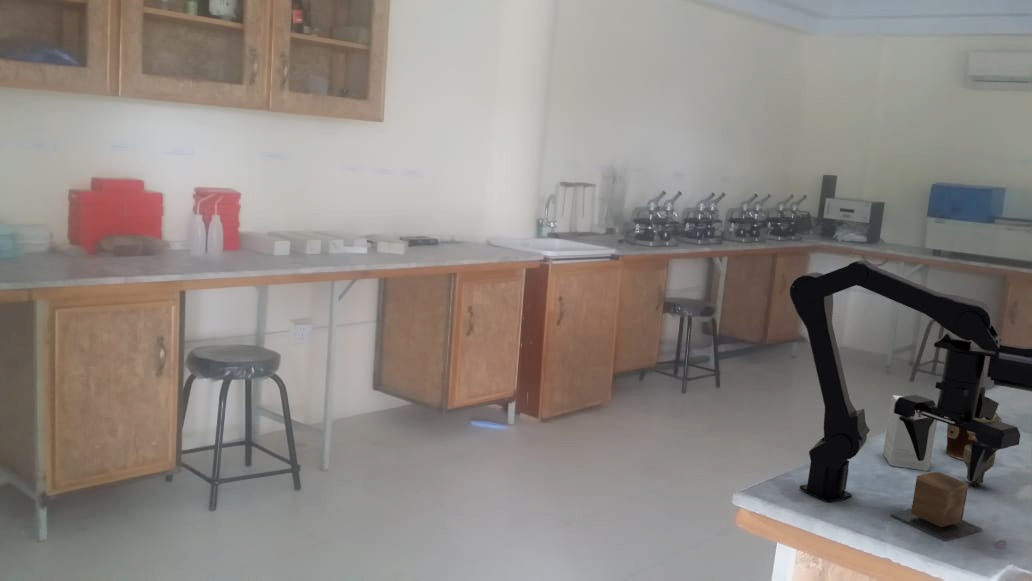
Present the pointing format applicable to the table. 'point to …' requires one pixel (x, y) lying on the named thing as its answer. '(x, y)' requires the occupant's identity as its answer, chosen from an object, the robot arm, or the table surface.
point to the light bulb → (968, 454)
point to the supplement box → (905, 443)
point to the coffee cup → (957, 441)
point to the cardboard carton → (939, 498)
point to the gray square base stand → (935, 530)
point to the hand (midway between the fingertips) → (945, 470)
